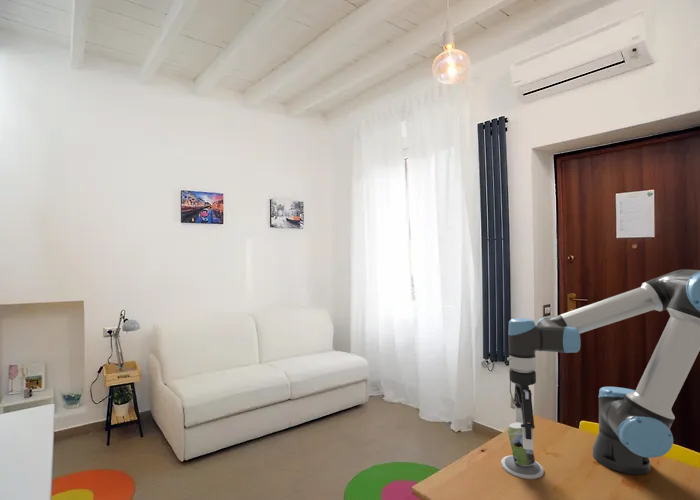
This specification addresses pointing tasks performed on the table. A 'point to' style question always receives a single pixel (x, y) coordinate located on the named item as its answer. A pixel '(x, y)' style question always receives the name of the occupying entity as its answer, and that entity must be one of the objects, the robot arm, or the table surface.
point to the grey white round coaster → (522, 468)
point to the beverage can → (519, 445)
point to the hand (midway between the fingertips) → (524, 437)
